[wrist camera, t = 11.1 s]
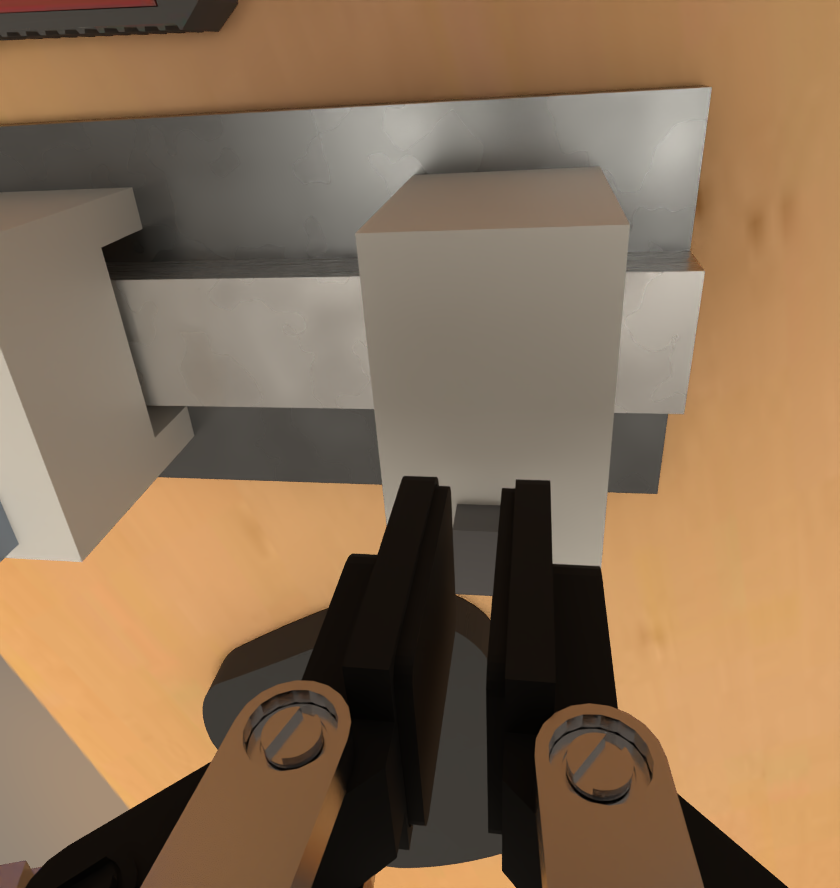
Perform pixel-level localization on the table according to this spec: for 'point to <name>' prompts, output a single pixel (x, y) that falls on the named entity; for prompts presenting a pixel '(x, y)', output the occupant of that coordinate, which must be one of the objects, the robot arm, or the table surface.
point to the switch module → (498, 348)
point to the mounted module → (70, 378)
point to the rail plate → (356, 257)
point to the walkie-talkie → (109, 17)
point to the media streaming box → (461, 741)
